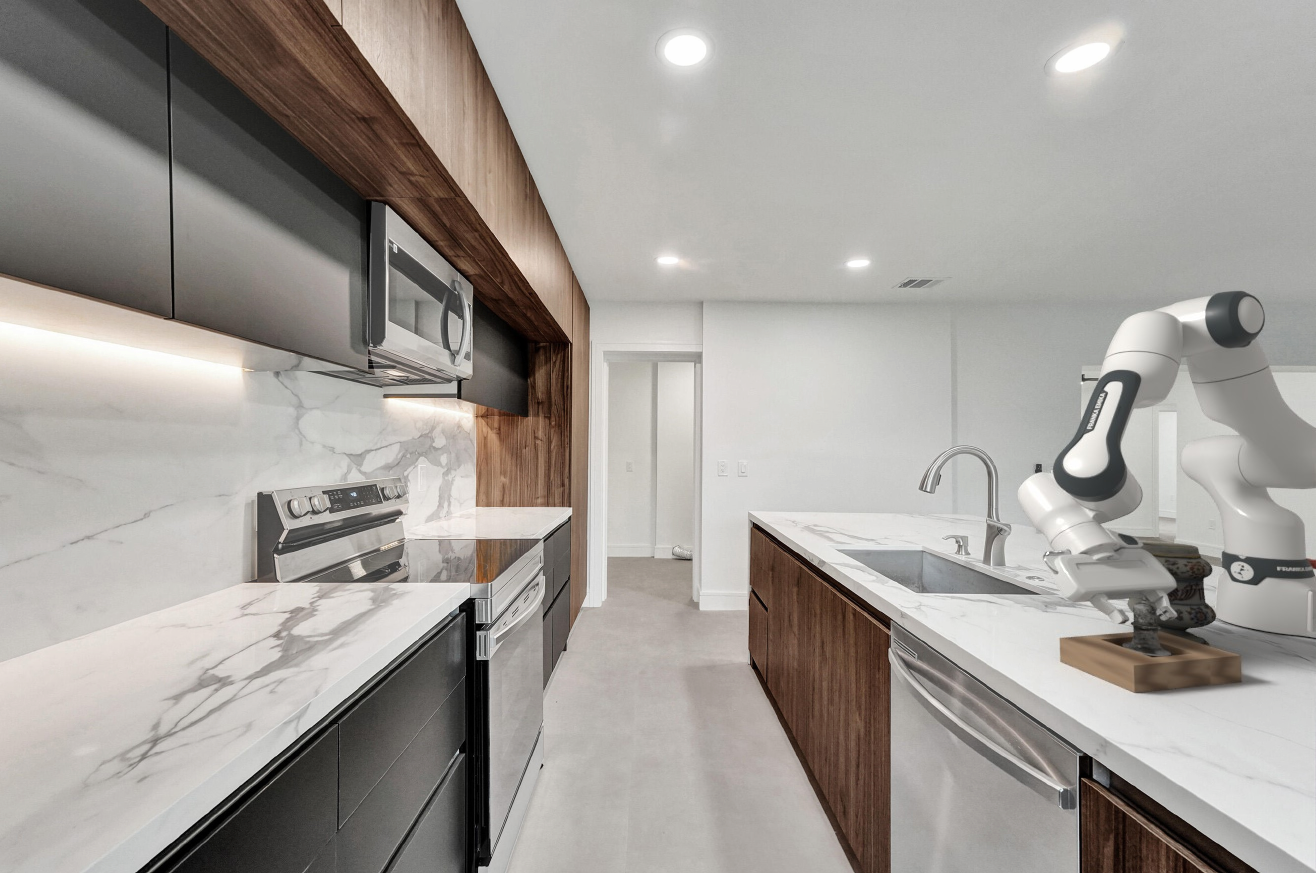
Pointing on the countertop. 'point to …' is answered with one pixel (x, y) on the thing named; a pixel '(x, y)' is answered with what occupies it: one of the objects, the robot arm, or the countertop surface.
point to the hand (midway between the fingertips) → (1147, 620)
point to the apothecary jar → (1182, 589)
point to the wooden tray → (1150, 662)
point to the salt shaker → (1145, 631)
